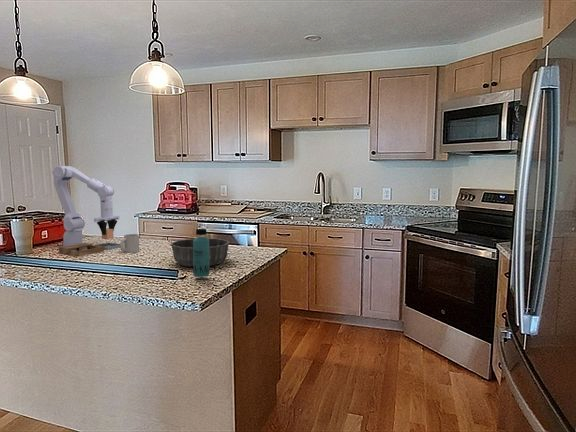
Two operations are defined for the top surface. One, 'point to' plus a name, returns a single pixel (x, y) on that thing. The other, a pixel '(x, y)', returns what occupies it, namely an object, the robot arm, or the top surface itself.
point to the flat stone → (82, 248)
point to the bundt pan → (185, 251)
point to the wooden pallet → (90, 250)
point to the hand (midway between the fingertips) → (107, 234)
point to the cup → (130, 243)
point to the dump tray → (113, 245)
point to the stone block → (108, 234)
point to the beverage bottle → (201, 254)
